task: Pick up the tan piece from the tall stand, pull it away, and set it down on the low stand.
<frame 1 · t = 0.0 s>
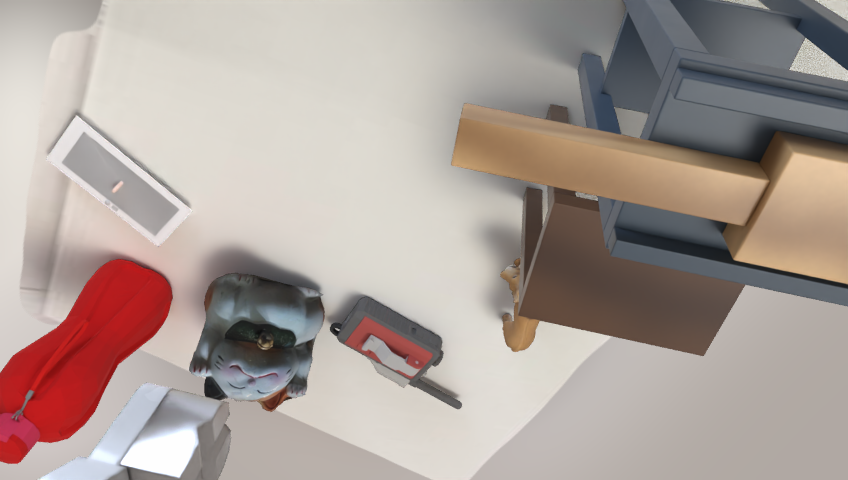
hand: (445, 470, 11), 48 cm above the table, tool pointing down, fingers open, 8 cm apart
lion figurine: (523, 279, 68), on the table
lucky cat figurine: (279, 306, 76), on the table
walkie-talkie: (410, 347, 76), on the table
tan piece: (676, 170, 28), point 28 cm above the table, touching tall stand
tall stand: (674, 28, 51), on the table
water bottle: (141, 281, 77), on the table
low stand: (610, 169, 59), on the table
touchpad: (126, 179, 69), on the table
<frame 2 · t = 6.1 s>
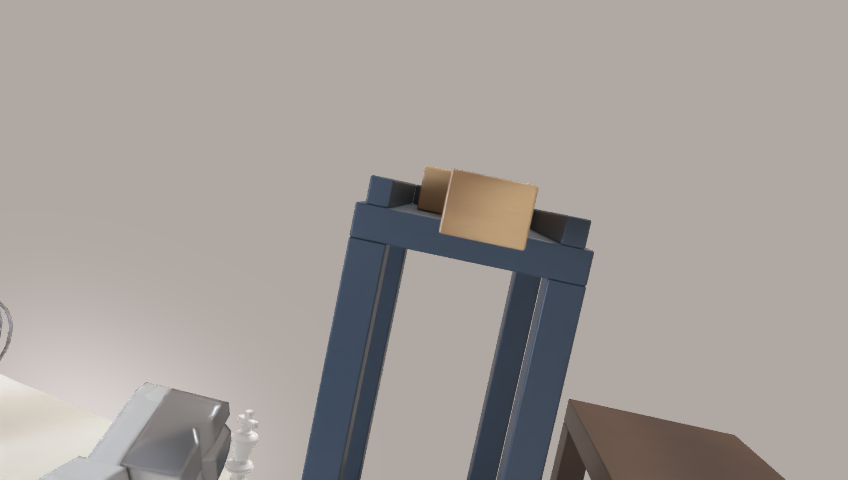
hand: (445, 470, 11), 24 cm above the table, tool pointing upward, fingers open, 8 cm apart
tan piece: (473, 224, 27), point 28 cm above the table, touching tall stand
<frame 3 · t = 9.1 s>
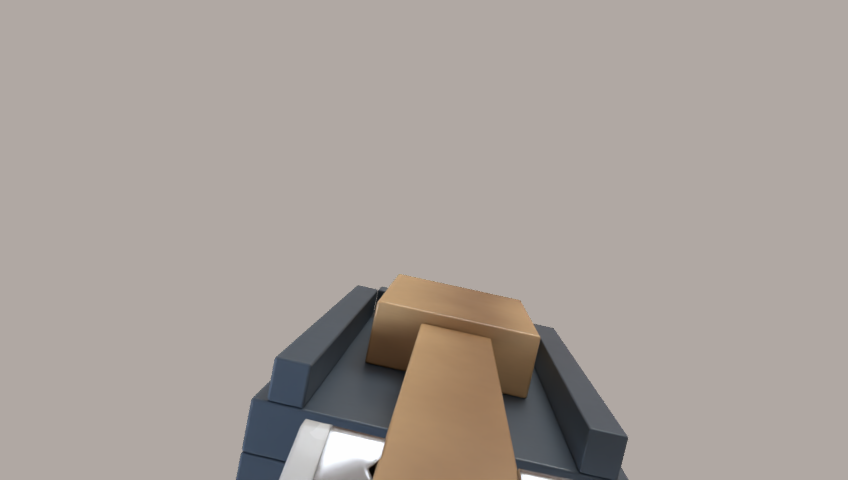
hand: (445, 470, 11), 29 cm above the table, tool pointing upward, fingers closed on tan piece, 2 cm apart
tan piece: (441, 416, 17), point 28 cm above the table, touching gripper, tall stand
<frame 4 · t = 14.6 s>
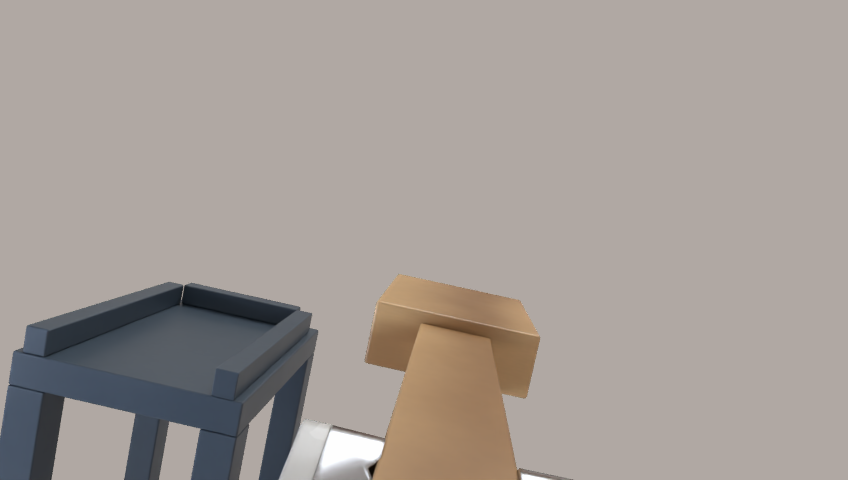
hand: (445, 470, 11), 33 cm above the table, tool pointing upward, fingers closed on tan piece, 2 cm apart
tan piece: (441, 416, 17), point 32 cm above the table, touching gripper
when the fingers open (19 cm above the table, at t = 20.0 s): tan piece stays where it is, resting on low stand.
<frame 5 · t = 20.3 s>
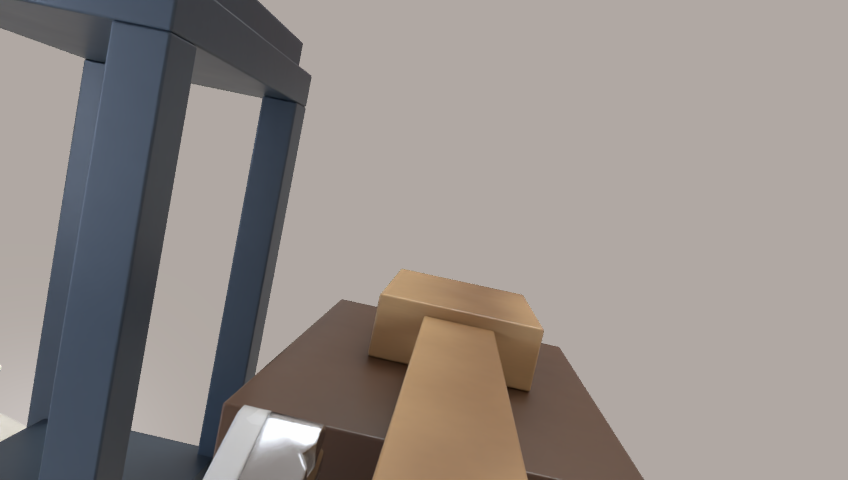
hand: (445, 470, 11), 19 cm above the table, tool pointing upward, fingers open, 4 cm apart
tan piece: (445, 408, 17), point 18 cm above the table, touching low stand
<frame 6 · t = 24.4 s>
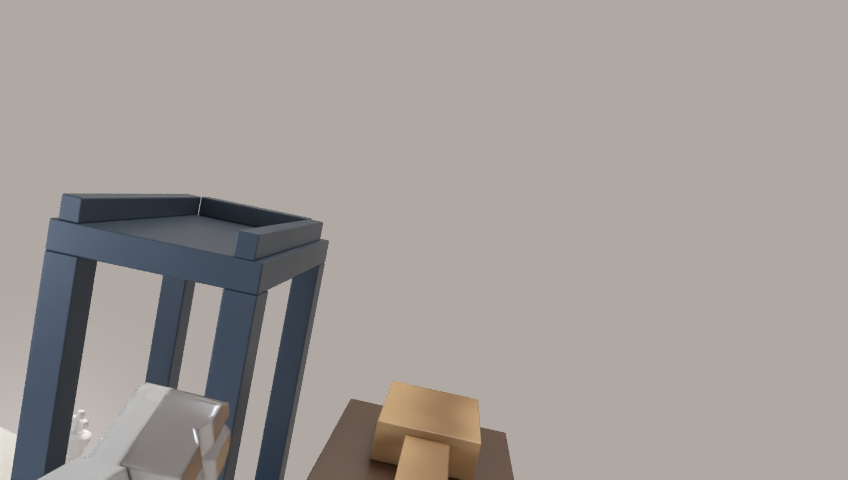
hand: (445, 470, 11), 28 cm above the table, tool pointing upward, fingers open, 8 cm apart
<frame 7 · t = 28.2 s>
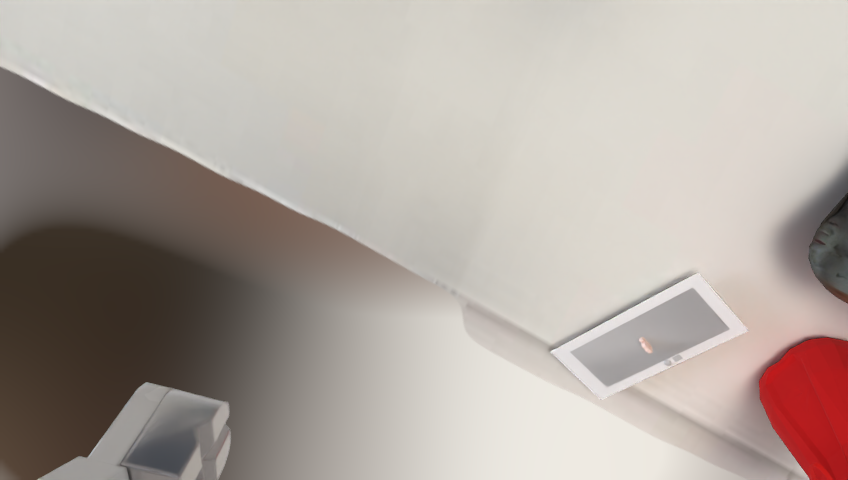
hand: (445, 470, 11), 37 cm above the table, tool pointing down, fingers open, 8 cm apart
water bottle: (808, 368, 55), on the table
touchpad: (643, 331, 56), on the table
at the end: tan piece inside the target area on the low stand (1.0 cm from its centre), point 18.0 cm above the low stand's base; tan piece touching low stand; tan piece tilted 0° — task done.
